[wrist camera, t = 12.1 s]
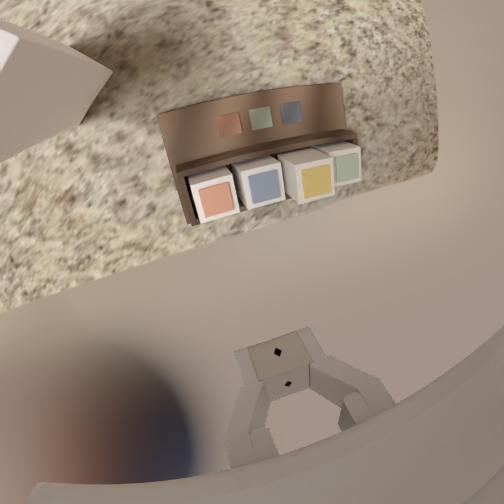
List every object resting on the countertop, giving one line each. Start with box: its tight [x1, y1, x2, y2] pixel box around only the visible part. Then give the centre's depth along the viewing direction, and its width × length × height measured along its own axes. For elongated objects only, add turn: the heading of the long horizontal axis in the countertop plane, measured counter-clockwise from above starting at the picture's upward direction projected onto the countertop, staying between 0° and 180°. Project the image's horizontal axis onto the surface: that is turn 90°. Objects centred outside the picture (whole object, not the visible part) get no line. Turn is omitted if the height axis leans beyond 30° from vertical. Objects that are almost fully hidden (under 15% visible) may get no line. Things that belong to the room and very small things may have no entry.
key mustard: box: [277, 148, 335, 204], centre depth 24 cm, size 3×3×4 cm
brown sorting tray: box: [157, 83, 357, 226], centre depth 26 cm, size 18×11×4 cm, turn 100°
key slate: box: [231, 155, 286, 210], centre depth 25 cm, size 3×3×4 cm
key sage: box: [310, 141, 362, 187], centre depth 26 cm, size 3×3×4 cm
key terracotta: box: [188, 165, 240, 223], centre depth 25 cm, size 3×3×4 cm
